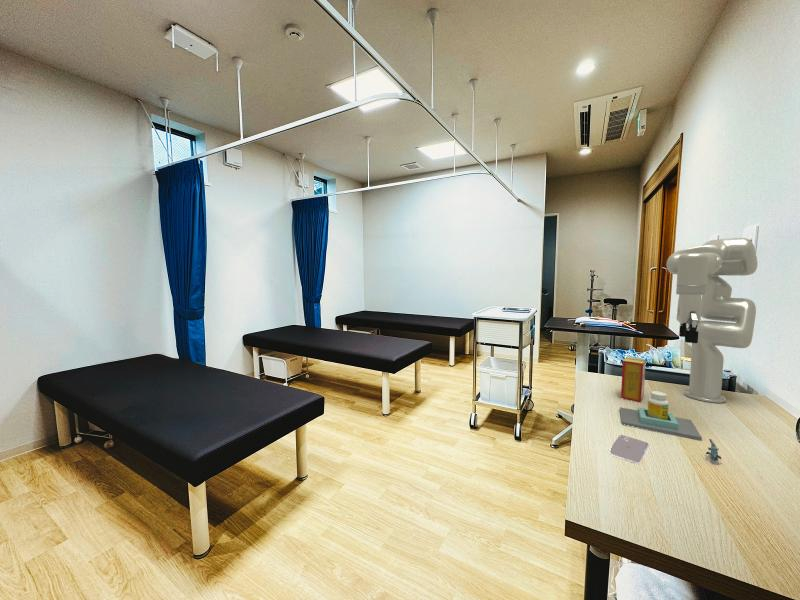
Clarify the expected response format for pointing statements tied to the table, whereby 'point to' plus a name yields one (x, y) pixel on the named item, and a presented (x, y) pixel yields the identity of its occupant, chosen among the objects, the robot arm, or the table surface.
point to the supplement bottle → (658, 406)
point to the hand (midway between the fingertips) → (688, 339)
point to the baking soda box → (633, 379)
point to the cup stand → (660, 423)
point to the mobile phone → (629, 448)
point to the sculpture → (713, 454)
